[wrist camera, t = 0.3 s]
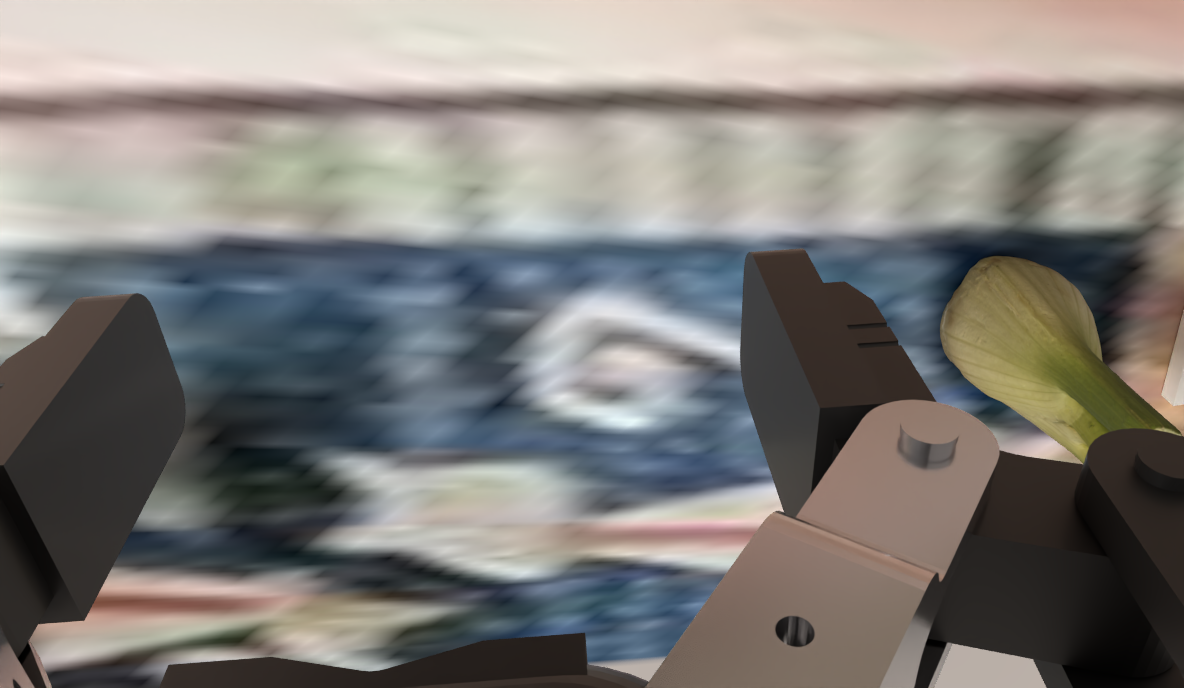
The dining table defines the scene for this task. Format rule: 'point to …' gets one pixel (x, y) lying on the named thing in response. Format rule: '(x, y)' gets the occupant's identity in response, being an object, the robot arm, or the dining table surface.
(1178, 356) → the gauge board
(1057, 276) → the fennel bulb
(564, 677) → the robot arm
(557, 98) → the dining table surface
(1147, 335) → the dining table surface
